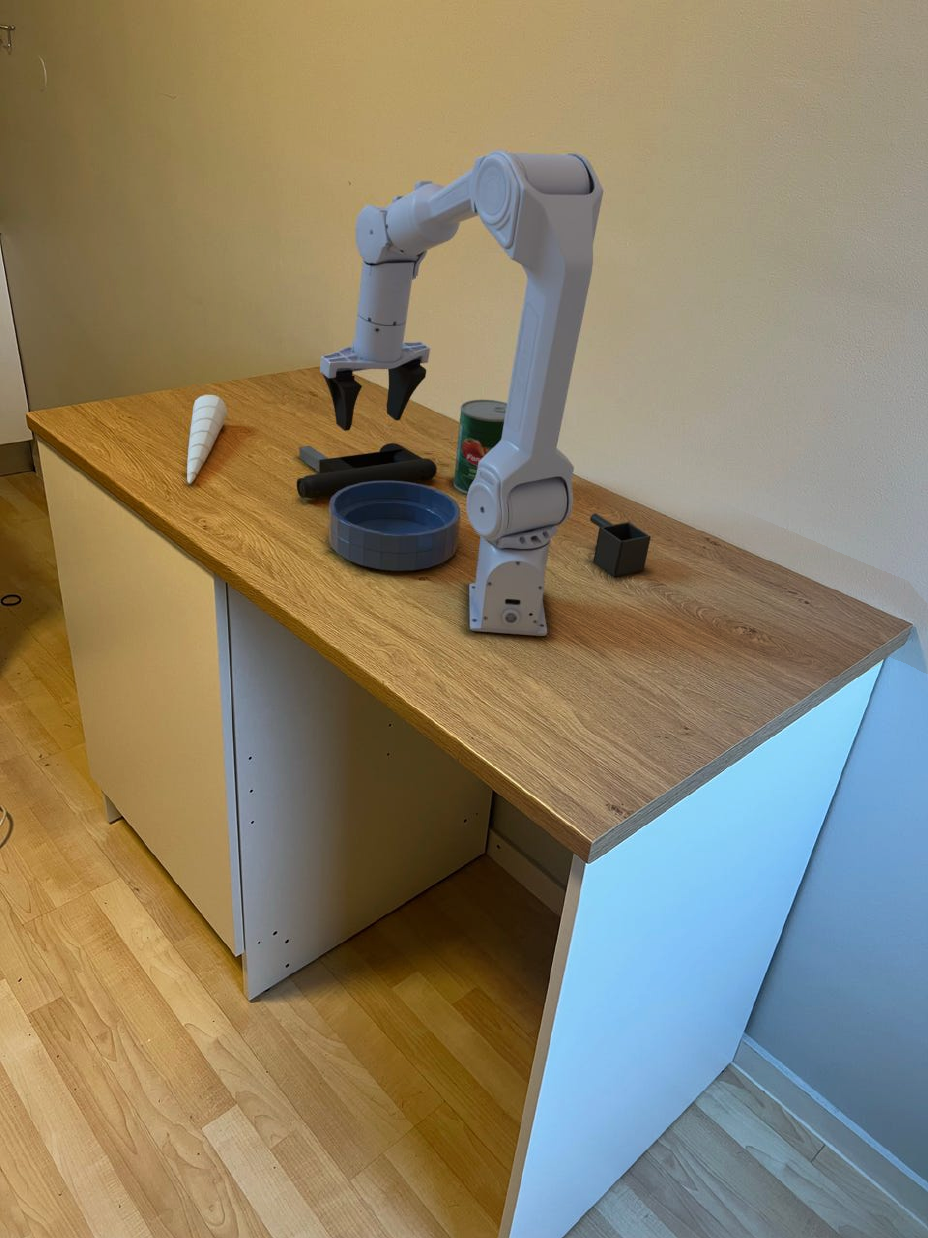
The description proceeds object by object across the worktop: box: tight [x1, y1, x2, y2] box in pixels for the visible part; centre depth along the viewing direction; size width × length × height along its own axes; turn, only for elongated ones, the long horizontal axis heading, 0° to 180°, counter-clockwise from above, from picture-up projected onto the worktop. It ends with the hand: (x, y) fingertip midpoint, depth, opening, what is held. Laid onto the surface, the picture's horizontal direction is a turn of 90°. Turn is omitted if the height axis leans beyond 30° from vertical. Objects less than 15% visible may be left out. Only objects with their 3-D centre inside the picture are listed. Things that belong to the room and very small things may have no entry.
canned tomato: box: [452, 399, 507, 496], centre depth 126 cm, size 8×8×11 cm
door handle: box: [296, 442, 438, 500], centre depth 127 cm, size 3×20×16 cm
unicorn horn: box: [186, 394, 228, 485], centre depth 128 cm, size 5×24×5 cm, turn 3°
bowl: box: [327, 481, 461, 572], centre depth 110 cm, size 15×15×5 cm
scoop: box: [589, 512, 652, 578], centre depth 112 cm, size 8×4×5 cm, turn 30°
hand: (368, 421), depth 116 cm, fingers open, 7 cm apart
